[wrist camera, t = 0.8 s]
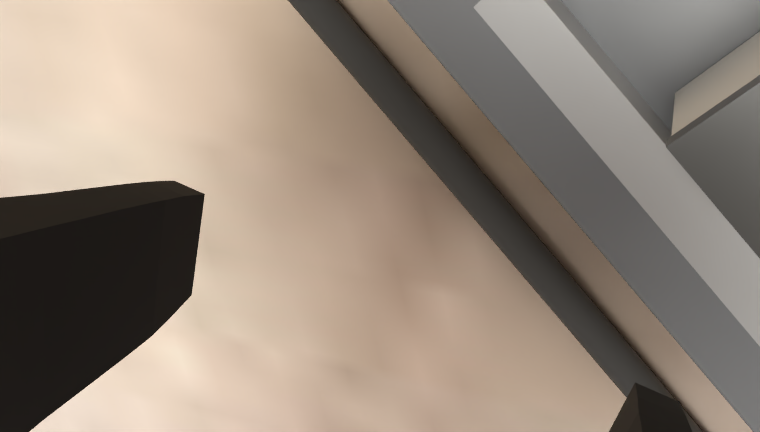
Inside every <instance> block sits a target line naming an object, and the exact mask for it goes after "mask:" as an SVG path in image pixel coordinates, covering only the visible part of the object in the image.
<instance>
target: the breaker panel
mask: <svg viewBox="0 0 760 432" xmlns="http://www.w3.org/2000/svg"><path fill="white" fill-rule="evenodd" d="M388 1H389V3H390V4H391V5H392V6H393V7H394V9H395V10H396V11H397V12H398V13H399V14H400V16H401V17H402V18H403V19H404V20H405V22H406V23H407V24H408V25H409V26H410V27H411V29H412V30H413V31H414V32H415V33H416V34H417V36H418V37H419V38H420V39H421V40H422V42H423V43H424V44H425V45H426V46H427V47H428V49H429V50H430V51H431V52H432V53H433V55H434V56H435V57H436V58H437V59H438V60H439V62H440V63H441V64H442V65H443V66H444V68H445V69H446V70H447V71H448V72H449V73H450V75H451V76H452V77H453V78H454V79H455V80H456V82H457V83H458V84H459V85H460V86H461V88H462V89H463V90H464V91H465V92H466V93H467V95H468V96H469V97H470V98H471V99H472V101H473V102H474V103H475V104H476V105H477V106H478V108H479V109H480V110H481V111H482V112H483V114H484V115H485V116H486V117H487V118H488V119H489V121H490V122H491V123H492V124H493V125H494V126H495V128H496V129H497V130H498V131H499V132H500V134H501V135H502V136H503V137H504V138H505V139H506V141H507V142H508V143H509V144H510V145H511V147H512V148H513V149H514V150H515V151H516V152H517V154H518V155H519V156H520V157H521V158H522V160H523V161H524V162H525V163H526V164H527V165H528V167H529V168H530V169H531V170H532V171H533V173H534V174H535V175H536V176H537V177H538V178H539V180H540V181H541V182H542V183H543V184H544V185H545V187H546V188H547V189H548V190H549V191H550V193H551V194H552V195H553V196H554V197H555V198H556V200H557V201H558V202H559V203H560V204H561V206H562V207H563V208H564V209H565V210H566V211H567V213H568V214H569V215H570V216H571V217H572V219H573V220H574V221H575V222H576V223H577V224H578V226H579V227H580V228H581V229H582V230H583V231H584V233H585V234H586V235H587V236H588V237H589V239H590V240H591V241H592V242H593V243H594V244H595V246H596V247H597V248H598V249H599V250H600V252H601V253H602V254H603V255H604V256H605V257H606V259H607V260H608V261H609V262H610V263H611V265H612V266H613V267H614V268H615V269H616V270H617V272H618V273H619V274H620V275H621V276H622V277H623V279H624V280H625V281H626V282H627V283H628V285H629V286H630V287H631V288H632V289H633V290H634V292H635V293H636V294H637V295H638V296H639V298H640V299H641V300H642V301H643V302H644V303H645V305H646V306H647V307H648V308H649V309H650V311H651V312H652V313H653V314H654V315H655V316H656V318H657V319H658V320H659V321H660V322H661V323H662V325H663V326H664V327H665V328H666V329H667V331H668V332H669V333H670V334H671V335H672V336H673V338H674V339H675V340H676V341H677V342H678V344H679V345H680V346H681V347H682V348H683V349H684V351H685V352H686V353H687V354H688V355H689V357H690V358H691V359H692V360H693V361H694V362H695V364H696V365H697V366H698V367H699V368H700V369H701V371H702V372H703V373H704V374H705V375H706V377H707V378H708V379H709V380H710V381H711V382H712V384H713V385H714V386H715V387H716V388H717V390H718V391H719V392H720V393H721V394H722V395H723V397H724V398H725V399H726V400H727V401H728V403H729V404H730V405H731V406H732V407H733V408H734V410H735V411H736V412H737V413H738V414H739V415H740V417H741V418H742V419H743V420H744V421H745V423H746V424H747V425H748V426H749V427H750V428H751V430H752V431H753V432H760V258H759V257H758V256H757V255H756V254H755V253H754V251H753V250H752V249H751V248H750V247H749V245H748V244H747V243H746V242H745V241H744V239H743V238H742V237H741V236H740V235H739V234H738V232H737V231H736V230H735V229H734V228H733V226H732V225H731V224H730V223H729V222H728V220H727V219H726V218H725V217H724V216H723V214H722V213H721V212H720V211H719V210H718V209H717V207H716V206H715V205H714V204H713V203H712V201H711V200H710V199H709V198H708V197H707V195H706V194H705V193H704V192H703V191H702V190H701V188H700V187H699V186H698V185H697V184H696V182H695V181H694V180H693V179H692V178H691V176H690V175H689V174H688V173H687V172H686V170H685V169H684V168H683V167H682V166H681V165H680V163H679V162H678V161H677V160H676V159H675V157H674V156H673V155H672V154H671V153H670V151H669V150H668V149H667V148H666V141H667V139H668V138H669V137H671V134H672V123H673V111H674V100H675V93H676V92H677V91H678V90H680V89H681V88H683V87H684V86H685V85H687V84H688V83H689V82H691V81H692V80H694V79H695V78H696V77H698V76H699V75H700V74H702V73H703V72H705V71H706V70H707V69H709V68H710V67H711V66H713V65H714V64H716V63H717V62H718V61H720V60H721V59H722V58H724V57H725V56H727V55H728V54H729V53H731V52H732V51H733V50H735V49H736V48H738V47H739V46H740V45H742V44H743V43H744V42H746V41H747V40H749V39H750V38H751V37H753V36H754V35H755V34H757V33H758V32H760V0H388Z"/></svg>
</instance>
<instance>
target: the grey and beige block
mask: <svg viewBox="0 0 760 432" xmlns="http://www.w3.org/2000/svg"><path fill="white" fill-rule="evenodd" d="M666 148H667V149H668V150H669V151H670V153H671V154H672V155H673V156H674V157H675V159H676V160H677V161H678V162H679V163H680V165H681V166H682V167H683V168H684V169H685V170H686V172H687V173H688V174H689V175H690V176H691V178H692V179H693V180H694V181H695V182H696V184H697V185H698V186H699V187H700V188H701V190H702V191H703V192H704V193H705V194H706V195H707V197H708V198H709V199H710V200H711V201H712V203H713V204H714V205H715V206H716V207H717V209H718V210H719V211H720V212H721V213H722V214H723V216H724V217H725V218H726V219H727V220H728V222H729V223H730V224H731V225H732V226H733V228H734V229H735V230H736V231H737V232H738V234H739V235H740V236H741V237H742V238H743V239H744V241H745V242H746V243H747V244H748V245H749V247H750V248H751V249H752V250H753V251H754V253H755V254H756V255H757V256H758V257H759V258H760V32H758V33H757V34H755V35H754V36H753V37H751V38H750V39H749V40H747V41H746V42H744V43H743V44H742V45H740V46H739V47H738V48H736V49H735V50H733V51H732V52H731V53H729V54H728V55H727V56H725V57H724V58H722V59H721V60H720V61H718V62H717V63H716V64H714V65H713V66H711V67H710V68H709V69H707V70H706V71H705V72H703V73H702V74H700V75H699V76H698V77H696V78H695V79H694V80H692V81H691V82H689V83H688V84H687V85H685V86H684V87H683V88H681V89H680V90H678V91H677V92H676V93H675V100H674V111H673V123H672V134H671V137H669V138H668V139H667V141H666Z"/></svg>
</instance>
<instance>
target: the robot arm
mask: <svg viewBox="0 0 760 432" xmlns="http://www.w3.org/2000/svg"><path fill="white" fill-rule="evenodd" d="M204 195H205V194H203V193H201V192H199V191H196V190H194V189H192V188H189V187H187V186H185V185H182V184H180V183H178V182H176V181H154V182H141V183H131V184H122V185H113V186H105V187H97V188H88V189H80V190H72V191H63V192H55V193H47V194H37V195H26V196H15V197H4V198H0V432H29V431H30V430H32V429H33V428H34V427H35V426H36V425H38V424H39V423H40V422H41V421H42V420H44V419H45V418H46V417H48V416H49V415H50V414H52V413H53V412H54V411H55V410H57V409H58V408H59V407H61V406H62V405H63V404H65V403H66V402H67V401H69V400H70V399H71V398H72V397H74V396H75V395H76V394H78V393H79V392H80V391H82V390H83V389H84V388H85V387H87V386H88V385H89V384H91V383H92V382H93V381H95V380H96V379H97V378H99V377H100V376H101V375H103V374H104V373H105V372H106V371H108V370H109V369H110V368H112V367H113V366H114V365H116V364H117V363H118V362H119V361H121V360H122V359H123V358H125V357H126V356H127V355H128V354H130V353H131V352H132V351H133V350H135V349H136V348H137V347H139V346H140V345H141V344H142V343H144V342H145V341H146V340H147V339H149V338H150V337H151V336H152V335H153V334H154V333H155V332H156V331H157V330H158V329H159V328H160V327H161V326H162V325H163V324H164V323H165V322H166V321H167V320H168V319H169V318H170V317H171V316H172V315H173V314H174V313H175V312H176V311H177V310H178V309H179V308H180V307H181V306H182V305H183V303H184V302H185V301H186V300H187V299H188V298H189V297H190V296H191V295H192V287H193V280H194V272H195V264H196V257H197V249H198V241H199V233H200V226H201V218H202V210H203V202H204ZM609 432H692V429H691V427H690V425H689V422H688V420H687V418H686V415H685V413H684V411H683V409H682V406H681V404H680V402H679V401H677V400H674V399H672V398H670V397H668V396H665V395H663V394H661V393H658V392H656V391H654V390H652V389H649V388H647V387H645V386H642V385H640V384H638V383H636V382H635V384H634V386H633V387H632V389H631V391H630V393H629V395H628V397H627V399H626V401H625V403H624V404H623V406H622V408H621V410H620V412H619V414H618V416H617V418H616V420H615V421H614V423H613V425H612V427H611V429H610V431H609Z"/></svg>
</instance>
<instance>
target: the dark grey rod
mask: <svg viewBox="0 0 760 432" xmlns="http://www.w3.org/2000/svg"><path fill="white" fill-rule="evenodd" d="M288 1H289V2H290V3H291V4H292V5H293V7H294V8H295V9H296V10H297V11H298V12H299V14H300V15H301V16H302V17H303V18H304V19H305V21H306V22H307V23H308V24H309V25H310V27H311V28H312V29H313V30H314V31H315V32H316V34H317V35H318V36H319V37H320V38H321V39H322V41H323V42H324V43H325V44H326V45H327V46H328V48H329V49H330V50H331V51H332V52H333V54H334V55H335V56H336V57H337V58H338V59H339V61H340V62H341V63H342V64H343V65H344V66H345V68H346V69H347V70H348V71H349V72H350V73H351V75H352V76H353V77H354V78H355V79H356V80H357V82H358V83H359V84H360V85H361V86H362V88H363V89H364V90H365V91H366V92H367V93H368V95H369V96H370V97H371V98H372V99H373V100H374V102H375V103H376V104H377V105H378V106H379V107H380V109H381V110H382V111H383V112H384V113H385V115H386V116H387V117H388V118H389V119H390V120H391V122H392V123H393V124H394V125H395V126H396V127H397V129H398V130H399V131H400V132H401V133H402V134H403V136H404V137H405V138H406V139H407V140H408V142H409V143H410V144H411V145H412V146H413V147H414V149H415V150H416V151H417V152H418V153H419V154H420V156H421V157H422V158H423V159H424V160H425V161H426V163H427V164H428V165H429V166H430V167H431V169H432V170H433V171H434V172H435V173H436V174H437V176H438V177H439V178H440V179H441V180H442V181H443V183H444V184H445V185H446V186H447V187H448V188H449V190H450V191H451V192H452V193H453V194H454V196H455V197H456V198H457V199H458V200H459V201H460V203H461V204H462V205H463V206H464V207H465V208H466V210H467V211H468V212H469V213H470V214H471V215H472V217H473V218H474V219H475V220H476V221H477V223H478V224H479V225H480V226H481V227H482V228H483V230H484V231H485V232H486V233H487V234H488V235H489V237H490V238H491V239H492V240H493V241H494V242H495V244H496V245H497V246H498V247H499V248H500V249H501V251H502V252H503V253H504V254H505V255H506V257H507V258H508V259H509V260H510V261H511V262H512V264H513V265H514V266H515V267H516V268H517V269H518V271H519V272H520V273H521V274H522V275H523V276H524V278H525V279H526V280H527V281H528V282H529V284H530V285H531V286H532V287H533V288H534V289H535V291H536V292H537V293H538V294H539V295H540V296H541V298H542V299H543V300H544V301H545V302H546V303H547V305H548V306H549V307H550V308H551V309H552V311H553V312H554V313H555V314H556V315H557V316H558V318H559V319H560V320H561V321H562V322H563V323H564V325H565V326H566V327H567V328H568V329H569V330H570V332H571V333H572V334H573V335H574V336H575V338H576V339H577V340H578V341H579V342H580V343H581V345H582V346H583V347H584V348H585V349H586V350H587V352H588V353H589V354H590V355H591V356H592V357H593V359H594V360H595V361H596V362H597V363H598V365H599V366H600V367H601V368H602V369H603V370H604V372H605V373H606V374H607V375H608V376H609V377H610V379H611V380H612V381H613V382H614V383H615V384H616V386H617V387H618V388H619V389H620V390H621V392H622V393H623V394H624V395H625V396H626V397H628V395H629V393H630V391H631V389H632V387H633V386H634V384H635V382H636V383H638V384H640V385H642V386H645V387H647V388H649V389H652V390H654V391H656V392H658V393H661V394H663V395H665V396H668V397H670V398H672V399H674V400H675V398H674V397H673V396H672V395H671V394H670V392H669V391H668V390H667V389H666V388H665V387H664V385H663V384H662V383H661V382H660V381H659V380H658V378H657V377H656V376H655V375H654V374H653V372H652V371H651V370H650V369H649V368H648V367H647V365H646V364H645V363H644V362H643V361H642V360H641V358H640V357H639V356H638V355H637V354H636V352H635V351H634V350H633V349H632V348H631V347H630V345H629V344H628V343H627V342H626V341H625V340H624V338H623V337H622V336H621V335H620V334H619V332H618V331H617V330H616V329H615V328H614V327H613V325H612V324H611V323H610V322H609V321H608V320H607V318H606V317H605V316H604V315H603V314H602V312H601V311H600V310H599V309H598V308H597V307H596V305H595V304H594V303H593V302H592V301H591V300H590V298H589V297H588V296H587V295H586V294H585V292H584V291H583V290H582V289H581V288H580V287H579V285H578V284H577V283H576V282H575V281H574V280H573V278H572V277H571V276H570V275H569V274H568V272H567V271H566V270H565V269H564V268H563V267H562V265H561V264H560V263H559V262H558V261H557V260H556V258H555V257H554V256H553V255H552V254H551V252H550V251H549V250H548V249H547V248H546V247H545V245H544V244H543V243H542V242H541V241H540V240H539V238H538V237H537V236H536V235H535V234H534V232H533V231H532V230H531V229H530V228H529V227H528V225H527V224H526V223H525V222H524V221H523V220H522V218H521V217H520V216H519V215H518V214H517V212H516V211H515V210H514V209H513V208H512V207H511V205H510V204H509V203H508V202H507V201H506V200H505V198H504V197H503V196H502V195H501V194H500V192H499V191H498V190H497V189H496V188H495V187H494V185H493V184H492V183H491V182H490V181H489V180H488V178H487V177H486V176H485V175H484V174H483V172H482V171H481V170H480V169H479V168H478V167H477V165H476V164H475V163H474V162H473V161H472V160H471V158H470V157H469V156H468V155H467V154H466V152H465V151H464V150H463V149H462V148H461V147H460V145H459V144H458V143H457V142H456V141H455V140H454V138H453V137H452V136H451V135H450V134H449V132H448V131H447V130H446V129H445V128H444V127H443V125H442V124H441V123H440V122H439V121H438V120H437V118H436V117H435V116H434V115H433V114H432V112H431V111H430V110H429V109H428V108H427V107H426V105H425V104H424V103H423V102H422V101H421V100H420V98H419V97H418V96H417V95H416V94H415V92H414V91H413V90H412V89H411V88H410V87H409V85H408V84H407V83H406V82H405V81H404V80H403V78H402V77H401V76H400V75H399V74H398V72H397V71H396V70H395V69H394V68H393V67H392V65H391V64H390V63H389V62H388V61H387V60H386V58H385V57H384V56H383V55H382V54H381V52H380V51H379V50H378V49H377V48H376V47H375V45H374V44H373V43H372V42H371V41H370V40H369V38H368V37H367V36H366V35H365V34H364V32H363V31H362V30H361V29H360V28H359V27H358V25H357V24H356V23H355V22H354V21H353V20H352V18H351V17H350V16H349V15H348V14H347V12H346V11H345V10H344V9H343V8H342V7H341V5H340V4H339V3H338V2H337V1H336V0H288ZM682 409H683V408H682ZM683 411H684V413H685V415H686V418H687V420H688V422H689V425H690V427H691V429H692V432H703V431H702V430H701V429H700V428H699V427H698V425H697V424H696V423H695V422H694V421H693V420H692V418H691V417H690V416H689V415H688V414H687V412H686V411H685V410H684V409H683Z"/></svg>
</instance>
